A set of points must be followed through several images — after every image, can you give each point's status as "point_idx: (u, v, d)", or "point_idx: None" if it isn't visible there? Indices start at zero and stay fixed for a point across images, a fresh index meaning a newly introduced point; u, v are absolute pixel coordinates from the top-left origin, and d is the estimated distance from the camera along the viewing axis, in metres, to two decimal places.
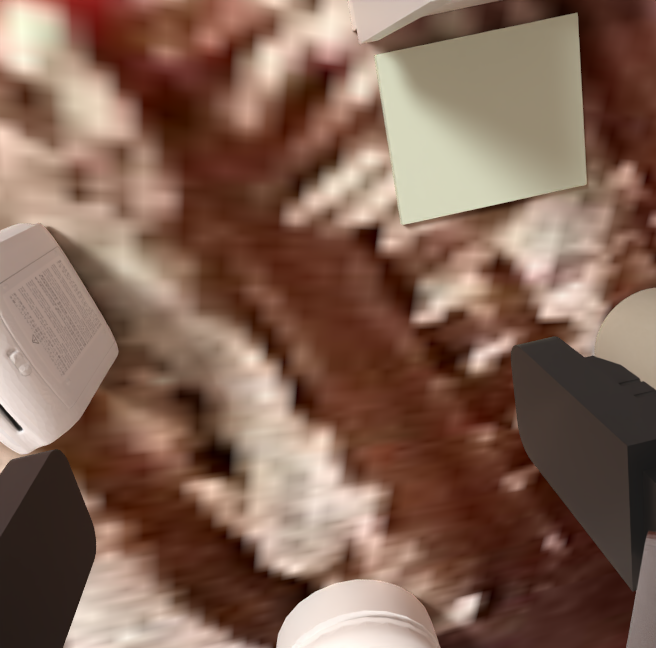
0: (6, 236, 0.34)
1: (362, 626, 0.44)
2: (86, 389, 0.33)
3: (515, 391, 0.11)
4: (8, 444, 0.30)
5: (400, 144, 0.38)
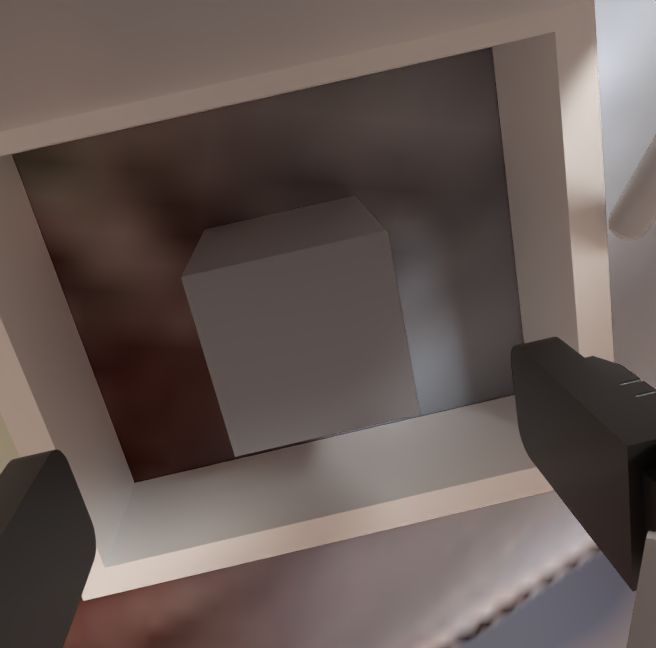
0: None
1: None
2: None
3: (515, 391, 0.11)
4: None
5: None
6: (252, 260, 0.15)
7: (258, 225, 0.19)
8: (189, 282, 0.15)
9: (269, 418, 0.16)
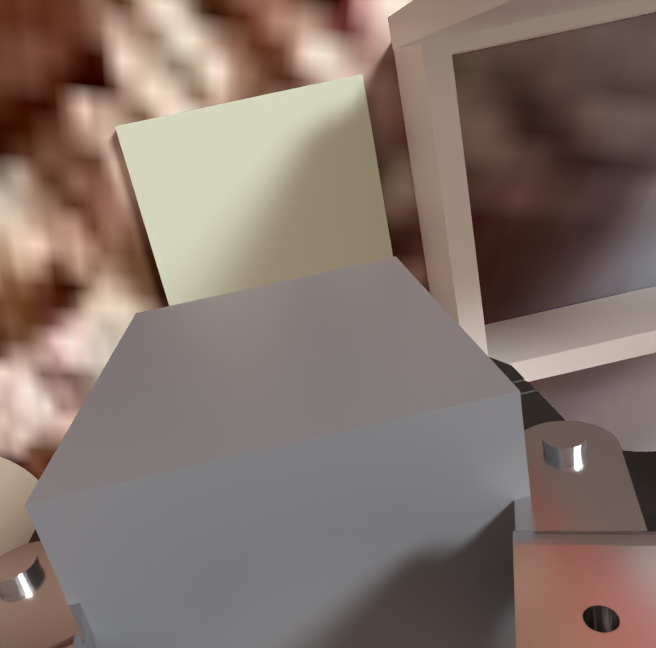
0: None
1: None
2: None
3: None
4: None
5: (239, 117, 0.25)
6: (199, 461, 0.06)
7: (227, 318, 0.10)
8: (46, 516, 0.06)
9: None
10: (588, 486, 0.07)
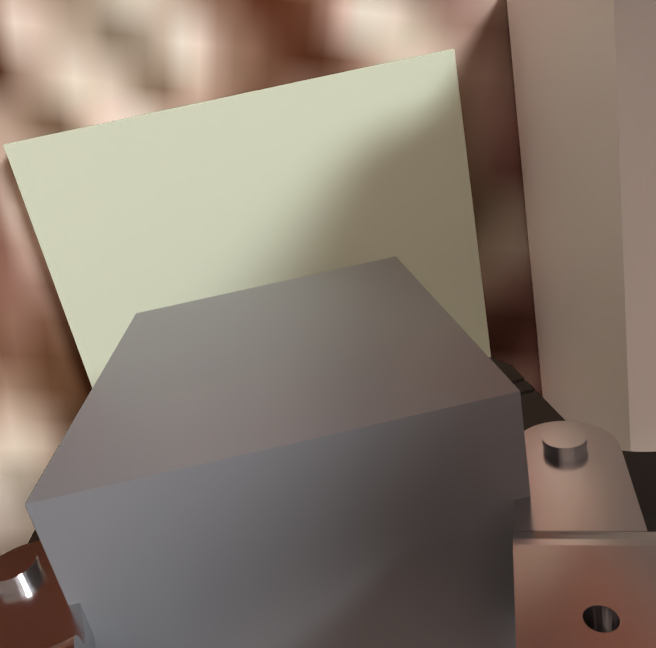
0: None
1: None
2: None
3: None
4: None
5: (231, 128, 0.14)
6: (199, 461, 0.06)
7: (227, 318, 0.10)
8: (46, 516, 0.06)
9: None
10: (588, 486, 0.07)
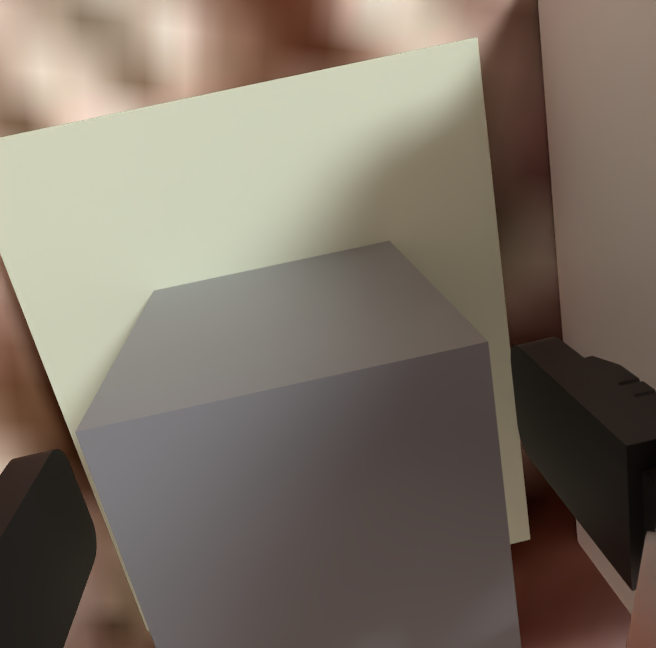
0: None
1: None
2: None
3: (514, 391, 0.11)
4: None
5: (221, 127, 0.12)
6: (220, 398, 0.07)
7: (237, 293, 0.12)
8: (93, 442, 0.07)
9: None
10: None
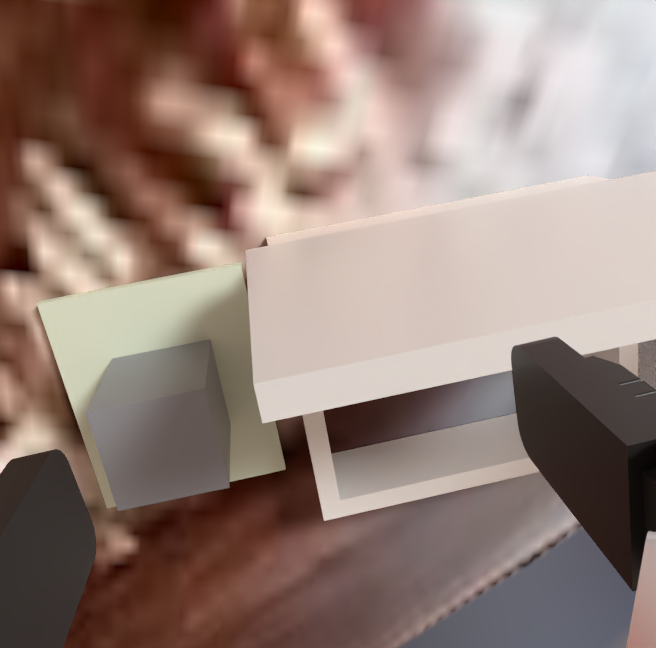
0: None
1: None
2: None
3: (515, 391, 0.11)
4: None
5: (140, 297, 0.31)
6: (127, 403, 0.26)
7: (144, 362, 0.30)
8: (90, 415, 0.26)
9: (138, 489, 0.28)
10: None
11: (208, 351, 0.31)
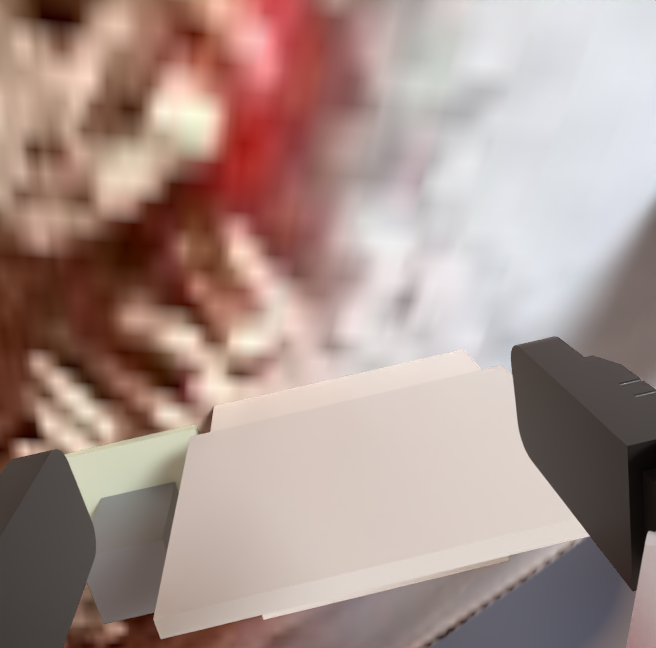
0: None
1: None
2: None
3: (515, 391, 0.11)
4: None
5: (120, 454, 0.41)
6: (106, 551, 0.37)
7: (123, 505, 0.41)
8: None
9: (117, 609, 0.38)
10: None
11: (171, 496, 0.41)
